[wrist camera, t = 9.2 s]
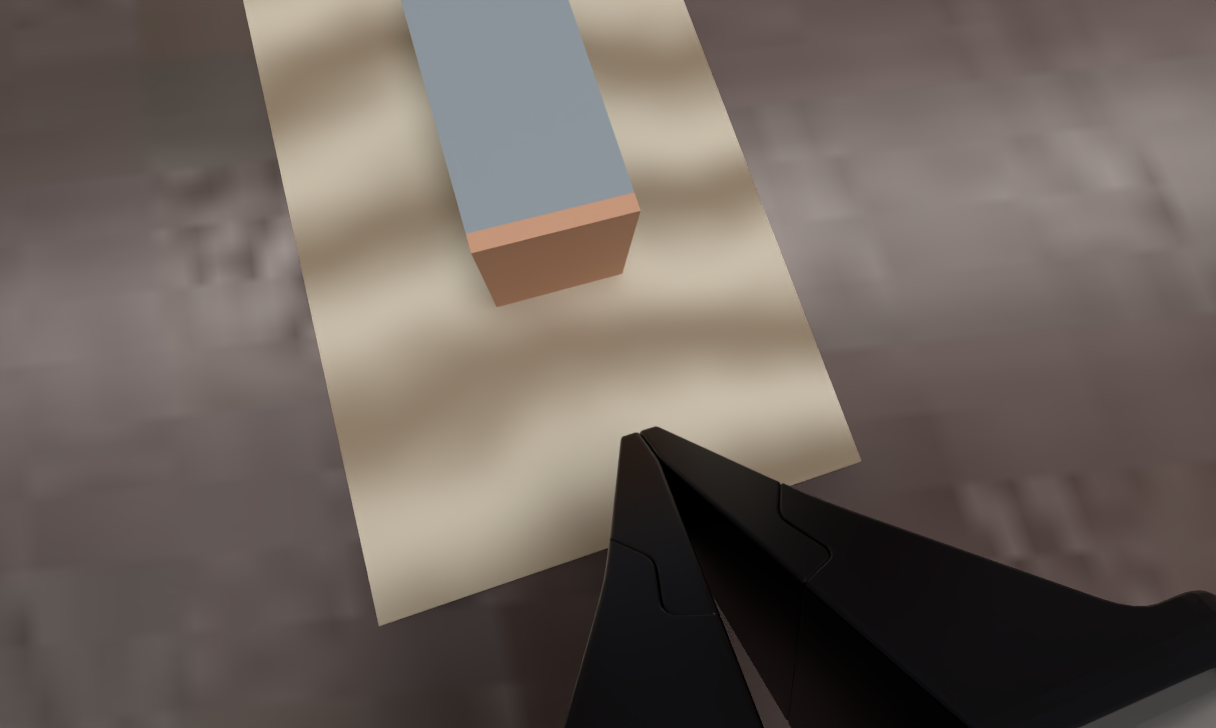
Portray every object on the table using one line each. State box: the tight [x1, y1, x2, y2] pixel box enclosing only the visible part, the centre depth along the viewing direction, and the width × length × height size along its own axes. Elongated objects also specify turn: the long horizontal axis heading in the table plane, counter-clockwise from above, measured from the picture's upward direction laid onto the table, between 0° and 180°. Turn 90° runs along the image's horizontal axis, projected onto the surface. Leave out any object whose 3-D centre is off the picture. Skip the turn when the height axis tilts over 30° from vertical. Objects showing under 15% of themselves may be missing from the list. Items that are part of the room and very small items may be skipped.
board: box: [243, 0, 861, 626], centre depth 20 cm, size 26×18×1 cm
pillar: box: [401, 0, 641, 307], centre depth 18 cm, size 5×5×14 cm
